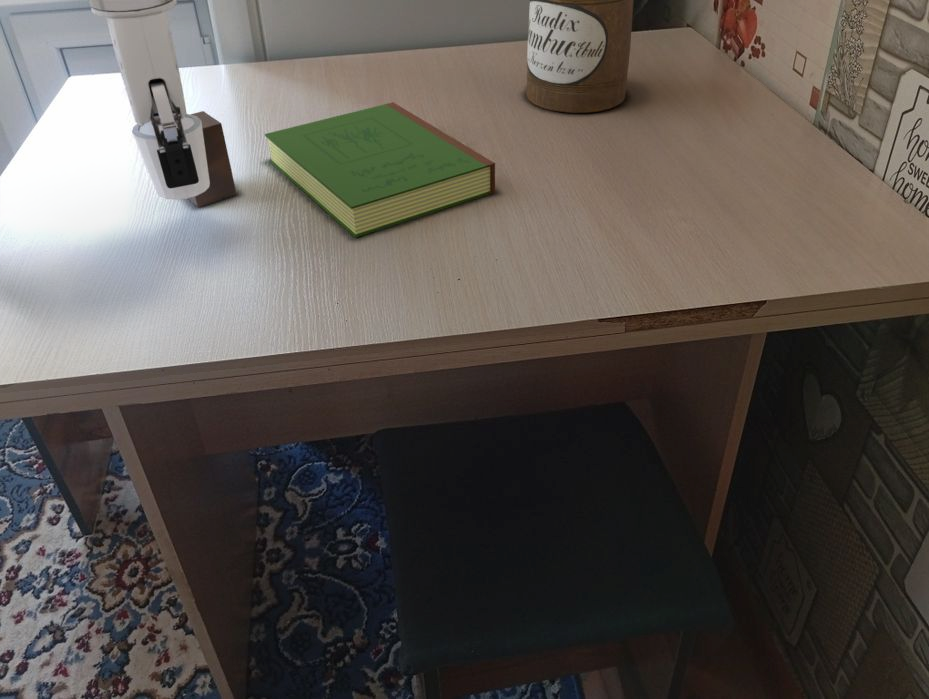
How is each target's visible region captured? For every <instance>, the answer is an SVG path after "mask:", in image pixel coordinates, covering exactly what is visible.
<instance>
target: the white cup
mask: <svg viewBox="0 0 929 699" xmlns="http://www.w3.org/2000/svg"><path fill="white" fill-rule="evenodd" d="M190 114H191V113H190ZM190 114H189V113H187V114H186V116H185V117H184V118H183V119H182V118H181V121H182V125H183V128H184V132H185V136H186V139H187V143H188V144H190V146H191V150H192V154H193V158H194V162H195V166H196V170H197V174H198V178H199V182H198V183H196V184H192V185H187V186H181V187H176V188H168V187H167V185H166V182H165V178H164V175H163V171H162V168H161V164H160V160H159V157H158V153H157V150H159V147H158V143H157V140H156V136H155V133H154V129H153V126H152V124H151V118H150V121H149V122H147V123H143V125H144V126H140V125H138V124H137V123H135V125H134V126H133V127H132V129H131V133H132V136H133V139H134V141H135V144H136V146H137V149H138V152H139V154H140V156H141V159H142V161H143V164H144V166H145V169H146V172H147V173H148V177H149V179H150V181H151V184H152V186H153V189H154V191H155V194H156V195H157V196H158V198H162V199H165V200H175V201H178V200H185V199H186V200H187V199H188V198H190V197H194V196H197V195H199V194H201V193H203V192H205V191H206V190H207V189H208V188H209V185H210V181H209V173H208V166H207V159H206V152H205V145H204V137H203V130H202V123H201V120H200V119H199V118H198V117H197V116H194V115H190ZM173 116H175V114H173ZM180 117H181V116H180ZM154 118H155V119H157V118H159V116H155V117H154ZM175 124H176V123H175ZM176 128H177V125H176ZM159 130H160V132H161V131H162V130H163V129H162V126H159ZM160 134H161V133H160ZM162 141H163V140H162ZM163 144H164V143H163Z"/></svg>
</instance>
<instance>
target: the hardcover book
mask: <svg viewBox="0 0 929 699" xmlns="http://www.w3.org/2000/svg"><path fill="white" fill-rule="evenodd" d="M264 137H265V138H266V139H267V142H268V146H269V152H270V158H271V159H269V163H270V164H271V165H273V166H274V167H275V169H277V170H278V171H279V172H280V173H281V174H283V175H284V176H285V177H286V178H287V179H288V180H290V182H292V183H293V184H294V185H295V186H296V187H297V188H299V189H300V190H301V191H302V192H303V193H304V194H305V195H306V196H308V197H309V198H310V199H311V201H313V202H314V203H315V204H317V206H319V207H320V208H321V209H322V210H323V211H324V212H326V214H327V215H329V217H331V218H332V219H333V220H334V221H336V222H337V224H339V225H340V226H341V227H342V228H343V229H345V230H346V231H347V232H348V234H350V235H351V236H352V237H353V238H356V239H357V238H359V237H362V236H365V235H369V234H371V233H374V232H377V231H380V230H384V229H387V228H389V227H393V226H396V225H399V224H402V223H405V222H408V221H412V220H414V219H417V218H421V217H424V216H426V215H429V214H433V213H436V212H439V211H442V210H446V209H448V208H451V207H454V206H457V205H460V204H463V203H466V202H470V201H473V200H476V199H479V198H482V197H485V196H488V195H491V194H495V193H496V163H495V162H494V161H493V160H491V159H489V158H487V157H485V156H484V155H482V154H481V153H479V152H478V151H476V150H474V149H472V148H471V147H469V146H467V145H466V144H464V143H462V142H460V141H459V140H457V139H455V138H454V137H453V136H450V135H449V134H448V133H446V132H444V131H442V130H440V129H439V128H438V127H435V126H434V125H432V124H430V123H429V122H427V121H426V120H424V119H422V118H420V117H419V116H417V115H415V114H414V113H412V112H410V111H409V110H407V109H405V108H404V107H402V106H401V105H399V104H397V103H395V102H392V101H391V102H389V103H384V104H381V105H375V106H372V107H367V108H364V109H359V110H355V111H352V112H348V113H344V114H340V115H335V116H331V117H328V118H324V119H320V120H315V121H312V122H308V123H303V124H300V125H295V126H292V127H288V128H283V129H280V130H275V131H271V132H267V133H264Z"/></svg>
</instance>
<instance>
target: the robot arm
mask: <svg viewBox="0 0 929 699" xmlns="http://www.w3.org/2000/svg"><path fill="white" fill-rule="evenodd" d="M88 1H89V5H90V10H91V12H92V14H93V15H95V16H97V17H101V18H106V22H107V27H108V31H109V35H110V40H111V44H112V47H113V52H114V55H115V58H116V61H117V64H118V68H119V72H120V75H121V79H122V81H123V85H124V89H125V92H126V95H127V100H128V102H129V105H130V109H131V113H132V115H133V119H134V121H135V124H138V125H140V126H144V125H143V123H147V122H149V121H150V118H151V124H152V126H153V129H154V133H155V136H156V140H157V143H158V147H159V150H157V153H158V157H159V160H160V164H161V168H162V171H163V175H164V178H165V182H166V185H167V187H168V188H176V187H181V186H187V185H192V184H196V183H198V182H199V178H198V174H197V170H196V166H195V162H194V158H193V154H192V150H191V146H190V144H188V143H187V139H186V136H185V132H184V128H183V125H182V121H181V118H182V119H183V118H184V117H185V116H186V114H188V113H187V107H186V101H185V95H184V89H183V84H182V78H181V74H180V73H181V72H180V68H179V63H178V59H177V54H176V51H175V45H174V42H173V41H174V40H173V37H172V36H173V35H172V33H171V29H170V28H171V27H170V24H169V20H168V15H167V12H166V11H168V10H171V9H173V8H174V7H175V6H176V5H177V3H178V2H177V0H88ZM173 114H175V116H173ZM155 116H159V118H157V119H155V118H154V117H155ZM180 116H181V117H180ZM175 123H176V124H175ZM176 125H177V128H176ZM159 126H162V129H163V130H162V131H161V132H160V130H159ZM160 133H161V134H160ZM162 140H163V141H162ZM163 143H164V144H163Z"/></svg>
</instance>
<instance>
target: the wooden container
mask: <svg viewBox="0 0 929 699" xmlns="http://www.w3.org/2000/svg"><path fill="white" fill-rule="evenodd" d="M528 9H529V11H528V14H529V16H528V29H527V30H528V33H527V53H526V54H527V55H526V98H527V100H529V101H530V102H531V103H532V104H533V105H536V106H538V107H539V108H542V109H545V110H549V111H552V112H559V113H567V114H585V113H598V112H603V111H607V110H609V109H612V108H615V107H617V106H618V105H621V103H623V102H624V100H625V98H626V91H627V82H628V72H629V64H630V53H631V45H632V44H631V42H632V28H633V15H634V14H633V12H634V0H529V8H528Z"/></svg>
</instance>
